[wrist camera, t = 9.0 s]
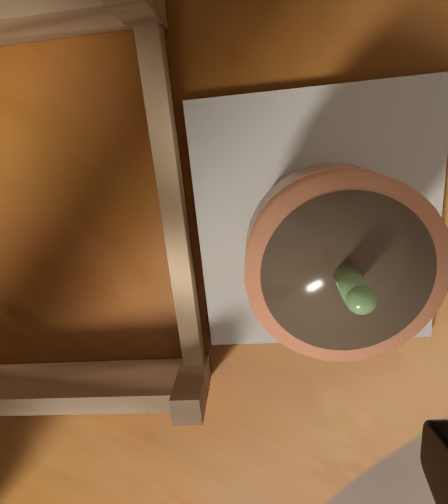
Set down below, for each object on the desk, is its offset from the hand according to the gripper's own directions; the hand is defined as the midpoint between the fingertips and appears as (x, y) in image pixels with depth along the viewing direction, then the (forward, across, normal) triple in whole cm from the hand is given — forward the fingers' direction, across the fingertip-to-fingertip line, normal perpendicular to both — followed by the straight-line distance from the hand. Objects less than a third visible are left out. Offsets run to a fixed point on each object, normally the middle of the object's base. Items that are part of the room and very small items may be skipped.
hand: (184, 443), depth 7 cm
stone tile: (+12, -4, -1) cm, 12 cm away
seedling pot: (+11, -4, -1) cm, 12 cm away
